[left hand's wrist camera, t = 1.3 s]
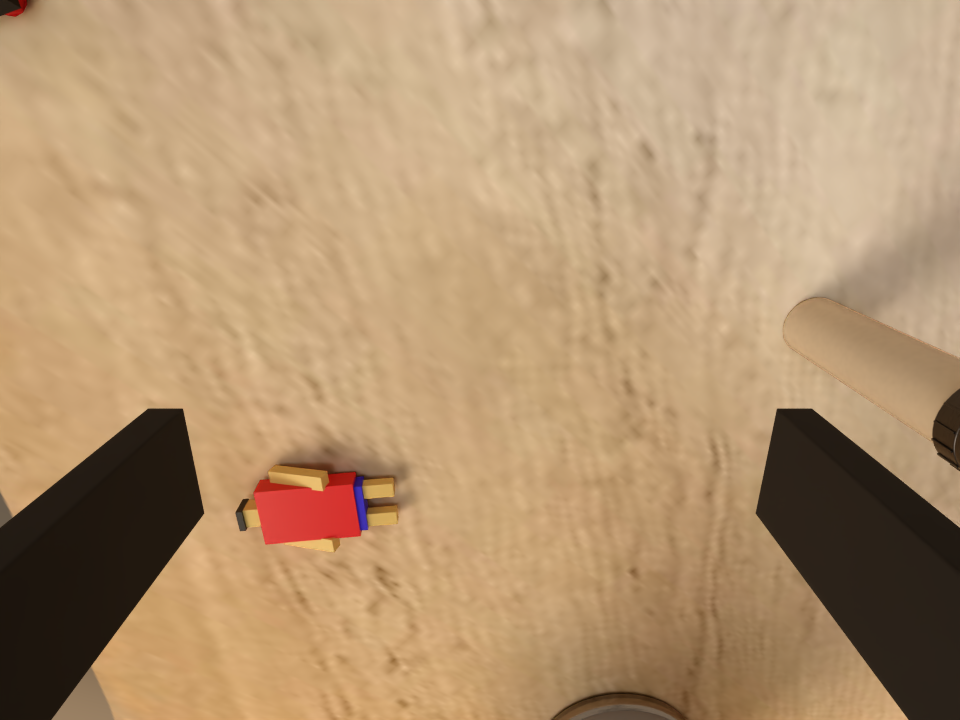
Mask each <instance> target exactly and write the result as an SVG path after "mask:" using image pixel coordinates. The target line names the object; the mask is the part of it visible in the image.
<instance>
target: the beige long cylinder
mask: <svg viewBox="0 0 960 720" xmlns="http://www.w3.org/2000/svg"><path fill="white" fill-rule="evenodd" d="M783 335H784V339H785V341H786V343H787V345H788V346H789V347H790V348H791V349H793V350H794V351H796V352H797V353H799V354H800V355H802V356H803V357H805V358H806V359H808V360H809V361H811V362H812V363H814V364H815V365H817V366H818V367H820V368H821V369H823V370H824V371H826V372H827V373H829V374H830V375H832V376H833V377H835V378H836V379H838V380H839V381H841V382H842V383H844V384H845V385H847V386H848V387H850V388H851V389H853V390H854V391H856V392H857V393H859V394H860V395H862V396H863V397H865V398H866V399H868V400H869V401H871V402H872V403H874V404H875V405H877V406H878V407H880V408H881V409H883V410H884V411H886V412H887V413H889V414H890V415H892V416H893V417H895V418H896V419H898V420H899V421H901V422H902V423H904V424H905V425H907V426H908V427H910V428H911V429H913V430H914V431H916V432H917V433H919V434H920V435H922V436H923V437H925V438H926V439H928V440H929V441H931V442H932V443H933V441H932V440H931V438H932V428H933V423H934V422H933V421H934V420H935V417H936V415H937V413H938V411H939V410H940V408H941V407H942V405H943V403H944V402H945V401H946V400H947V399H948V398H949V397H950V396H951V395H952V394H953V393H954V392H956V391H957V390H958V389H960V358H959V357H956V356H954V355H952V354H950V353H947V352H945V351H943V350H941V349H939V348H936V347H934V346H932V345H930V344H928V343H925V342H923V341H921V340H919V339H916V338H914V337H912V336H910V335H908V334H905V333H903V332H901V331H899V330H896V329H894V328H892V327H890V326H888V325H885V324H883V323H881V322H879V321H877V320H874V319H872V318H870V317H868V316H865V315H863V314H861V313H859V312H857V311H854V310H852V309H850V308H848V307H846V306H843V305H841V304H839V303H837V302H834V301H832V300H830V299H827V298H821V297H818V298H811V299H808V300H805V301H803V302H801V303H800V304H798V305H797V306H796V307H794V308H793V309H792V310H791V312H790V313H789V314H788V316H787V318H786V320H785V323H784V327H783Z"/></svg>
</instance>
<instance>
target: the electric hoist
mask: <svg viewBox="0 0 960 720" xmlns="http://www.w3.org/2000/svg"><path fill="white" fill-rule="evenodd" d="M26 6H27V1H26V0H0V16H2V15H4V14H5V15H8V16H15V17H16V16H18V15H19V14H21V13H23V12H24V10H25V8H26Z"/></svg>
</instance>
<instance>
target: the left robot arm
mask: <svg viewBox="0 0 960 720" xmlns="http://www.w3.org/2000/svg"><path fill="white" fill-rule="evenodd" d="M203 514H204V510H203V505H202V500H201V495H200V490H199V485H198V480H197V475H196V470H195V466H194V461H193V456H192V451H191V446H190V441H189V436H188V431H187V426H186V422H185V417H184V412H183V409H147V410H146V411H145V412H143V413H142V414H141V415H140V416H138V417H137V418H136V419H135V420H133V421H132V422H131V423H130V424H129V425H127V426H126V427H125V428H124V429H122V430H121V431H120V432H119V433H117V434H116V435H115V436H114V437H112V438H111V439H110V440H109V441H107V442H106V443H105V444H104V445H102V446H101V447H100V448H99V449H97V450H96V451H95V452H94V453H93V454H91V455H90V456H89V457H88V458H86V459H85V460H84V461H83V462H81V463H80V464H79V465H78V466H76V467H75V468H74V469H73V470H71V471H70V472H69V473H68V474H66V475H65V476H64V477H63V478H61V479H60V480H59V481H58V482H57V483H55V484H54V485H53V486H52V487H50V488H49V489H48V490H47V491H45V492H44V493H43V494H42V495H40V496H39V497H38V498H37V499H35V500H34V501H33V502H32V503H30V504H29V505H28V506H27V507H25V508H24V509H23V510H22V511H20V512H19V513H18V514H17V515H16V516H14V517H13V518H12V519H11V520H9V521H8V522H7V523H6V524H4V525H3V526H2V527H1V528H0V720H51V719H52V718H53V717H54V715H55V714H56V713H57V711H58V710H59V709H60V707H61V706H62V705H63V703H64V702H65V701H66V699H67V698H68V696H69V695H70V694H71V692H72V691H73V690H74V688H75V687H76V686H77V684H78V683H79V682H80V680H81V679H82V678H83V676H84V675H85V674H86V672H87V671H88V670H89V668H90V667H91V666H92V664H93V663H94V661H95V660H96V659H97V657H98V656H99V655H100V653H101V652H102V651H103V649H104V648H105V647H106V645H107V644H108V643H109V641H110V640H111V639H112V637H113V636H114V634H115V633H116V632H117V630H118V629H119V628H120V626H121V625H122V624H123V622H124V621H125V620H126V618H127V617H128V616H129V614H130V613H131V612H132V610H133V609H134V608H135V606H136V605H137V603H138V602H139V601H140V599H141V598H142V597H143V595H144V594H145V593H146V591H147V590H148V589H149V587H150V586H151V585H152V583H153V582H154V581H155V579H156V578H157V576H158V575H159V574H160V572H161V571H162V570H163V568H164V567H165V566H166V564H167V563H168V562H169V560H170V559H171V558H172V556H173V555H174V554H175V552H176V551H177V550H178V548H179V547H180V545H181V544H182V543H183V541H184V540H185V539H186V537H187V536H188V535H189V533H190V532H191V531H192V529H193V528H194V527H195V525H196V524H197V523H198V521H199V520H200V518H201V517H202V516H203ZM756 514H757V516H758V517H759V518H760V520H761V521H762V523H763V524H764V525H765V527H766V528H767V529H768V531H769V532H770V533H771V535H772V536H773V537H774V539H775V540H776V541H777V543H778V544H779V545H780V547H781V548H782V550H783V551H784V552H785V554H786V555H787V556H788V558H789V559H790V560H791V562H792V563H793V564H794V566H795V567H796V568H797V570H798V571H799V572H800V574H801V575H802V576H803V578H804V579H805V581H806V582H807V583H808V585H809V586H810V587H811V589H812V590H813V591H814V593H815V594H816V595H817V597H818V598H819V599H820V601H821V602H822V603H823V605H824V606H825V608H826V609H827V610H828V612H829V613H830V614H831V616H832V617H833V618H834V620H835V621H836V622H837V624H838V625H839V626H840V628H841V629H842V630H843V632H844V633H845V634H846V636H847V637H848V639H849V640H850V641H851V643H852V644H853V645H854V647H855V648H856V649H857V651H858V652H859V653H860V655H861V656H862V657H863V659H864V660H865V661H866V663H867V664H868V666H869V667H870V668H871V670H872V671H873V672H874V674H875V675H876V676H877V678H878V679H879V680H880V682H881V683H882V684H883V686H884V687H885V688H886V690H887V691H888V692H889V694H890V695H891V697H892V698H893V699H894V701H895V702H896V703H897V705H898V706H899V707H900V709H901V710H902V711H903V713H904V714H905V715H906V717H907V718H908V719H909V720H960V528H959V527H958V526H957V525H956V524H954V523H953V522H952V521H951V520H949V519H948V518H947V517H946V516H944V515H943V514H942V513H941V512H940V511H938V510H937V509H936V508H935V507H933V506H932V505H931V504H930V503H928V502H927V501H926V500H925V499H923V498H922V497H921V496H920V495H918V494H917V493H916V492H915V491H913V490H912V489H911V488H910V487H908V486H907V485H906V484H905V483H903V482H902V481H901V480H900V479H899V478H897V477H896V476H895V475H894V474H892V473H891V472H890V471H889V470H887V469H886V468H885V467H884V466H882V465H881V464H880V463H879V462H877V461H876V460H875V459H874V458H872V457H871V456H870V455H869V454H867V453H866V452H865V451H864V450H863V449H861V448H860V447H859V446H858V445H856V444H855V443H854V442H853V441H851V440H850V439H849V438H848V437H846V436H845V435H844V434H843V433H841V432H840V431H839V430H838V429H836V428H835V427H834V426H833V425H831V424H830V423H829V422H828V421H827V420H825V419H824V418H823V417H822V416H820V415H819V414H818V413H817V412H815V411H814V410H813V409H777V412H776V417H775V422H774V426H773V431H772V436H771V441H770V446H769V451H768V456H767V461H766V466H765V470H764V475H763V480H762V485H761V490H760V495H759V500H758V505H757V510H756ZM553 720H685V718H684V717H683V716H682V715H681V714H680V713H679V712H678V711H677V710H675V709H674V708H672V707H671V706H669V705H667V704H666V703H664V702H661V701H659V700H656V699H654V698H650V697H646V696H641V695H635V694H610V695H603V696H598V697H594V698H590V699H587V700H584V701H581V702H579V703H577V704H575V705H573V706H571V707H569V708H567V709H566V710H564V711H563V712H561V713H560V714H559V715H557V716H556V717H555V718H554V719H553Z"/></svg>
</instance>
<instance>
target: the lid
mask: <svg viewBox="0 0 960 720" xmlns="http://www.w3.org/2000/svg"><path fill="white" fill-rule="evenodd" d="M933 422H934V423H933V428H932V438H931V440H932V441H933V443H934V446H935V448H936V450H937V452H938V453H937V455H938V456H940V457H941V458H943V459H944V460H946V461H947V462H949V463H950V465H952V466H953V467H954V468H956V469H957V470H959V471H960V389H958V390H957V391H956V392H954V393H953V394H952V395H951V396H950V397H949V398H948V399H947V400H946V401H945V402H944V403H943V405H942V407H941V408H940V410H939V411H938V413H937V415H936V417H935V420H934V421H933Z"/></svg>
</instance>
